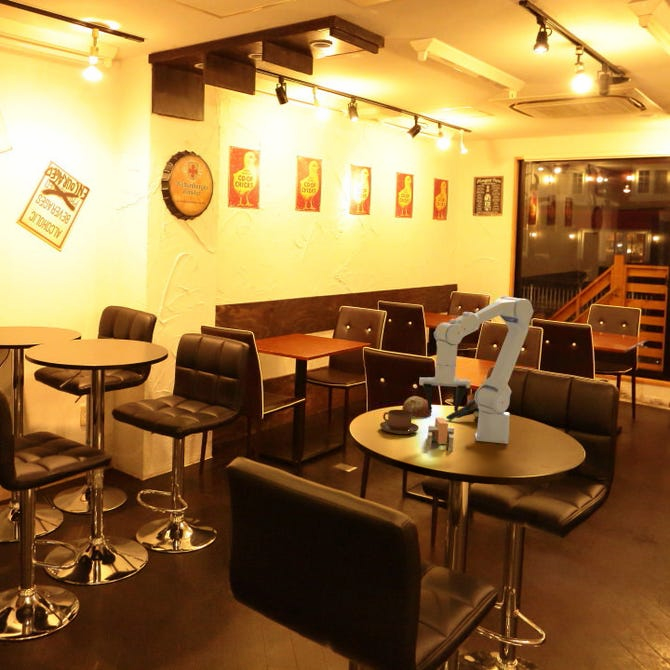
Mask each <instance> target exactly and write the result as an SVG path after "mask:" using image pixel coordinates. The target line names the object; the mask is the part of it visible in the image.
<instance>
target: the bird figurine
mask: <svg viewBox="0 0 670 670" xmlns="http://www.w3.org/2000/svg"><path fill="white" fill-rule="evenodd" d="M494 390H497V389H494ZM497 391H498V390H497ZM511 393H513V391H512V390H511ZM471 415H473V417H474V418H475V419H476V420H478V416H479V408H478V405H477V404H476V402H475V398H473V399H472V400H470V401H469V402H468V403H467V404H466V405H465V406H463V407H462V408H458V412H455V411H454V412H452V413H450V414H449V415H446V417H445V418H446V420H448V421H450V422H451V421H453V420H455V419H460V418H462V417H466V416H471Z"/></svg>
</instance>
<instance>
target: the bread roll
mask: <svg viewBox="0 0 670 670" xmlns="http://www.w3.org/2000/svg"><path fill="white" fill-rule="evenodd" d="M432 409H433V407H432V406H431V410H428V402H427V399H424V398H423V397H420V396H417V395H413V396H410V397H408V398H407V399H406V400H405V401H404V402H403V405H402V409H401V410H406V411H410V412H411V413H412V418H427V417H430V416H431V415H432V412H433V410H432Z"/></svg>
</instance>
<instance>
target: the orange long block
mask: <svg viewBox="0 0 670 670" xmlns="http://www.w3.org/2000/svg"><path fill="white" fill-rule="evenodd" d="M434 422H435V423H434V425H435V427H437V428H438V432H436V431H435V432H434V438H436V439H438V441H436V442H437V444H438V445H447V443H448V442H447V432H448V427H449V423H448V422H447V419H445V418H444V417H435V420H434Z"/></svg>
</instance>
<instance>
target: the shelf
mask: <svg viewBox="0 0 670 670" xmlns="http://www.w3.org/2000/svg"><path fill="white" fill-rule="evenodd" d="M427 427H428V430H427V439H426V450H431V449H432V443H433V441H436V442H438V439H436V438H434V432H435V431H436V432H438V428H437V427H435V424H433V425H432V424H429V425H428V426H427ZM454 435H455V427H454V426H448V432H447V443H448V449H447V450H448V452H453V448H454Z"/></svg>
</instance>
